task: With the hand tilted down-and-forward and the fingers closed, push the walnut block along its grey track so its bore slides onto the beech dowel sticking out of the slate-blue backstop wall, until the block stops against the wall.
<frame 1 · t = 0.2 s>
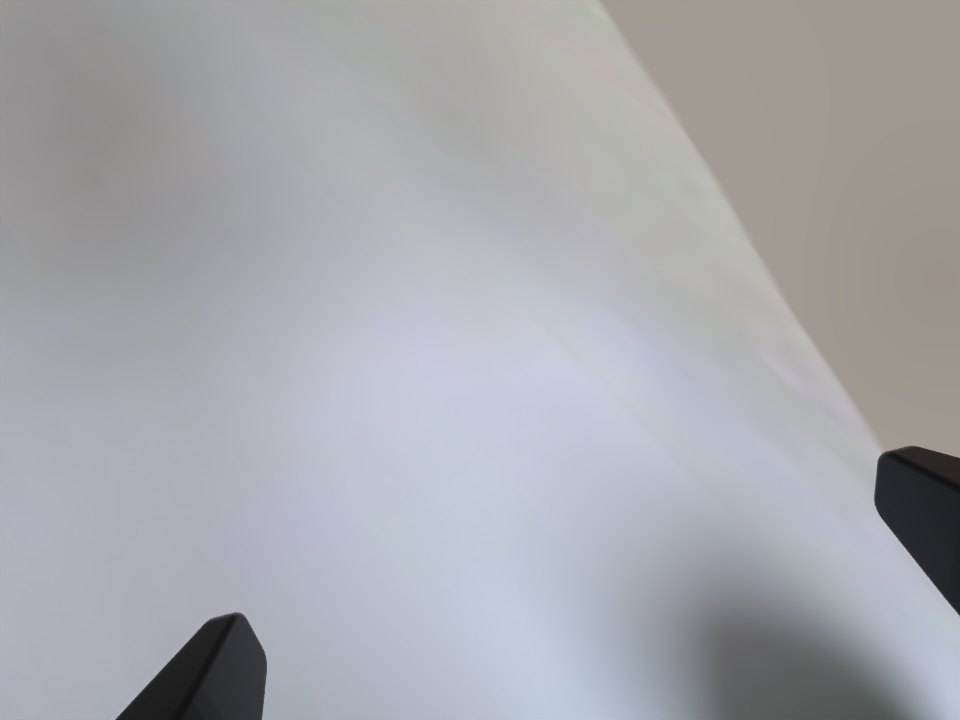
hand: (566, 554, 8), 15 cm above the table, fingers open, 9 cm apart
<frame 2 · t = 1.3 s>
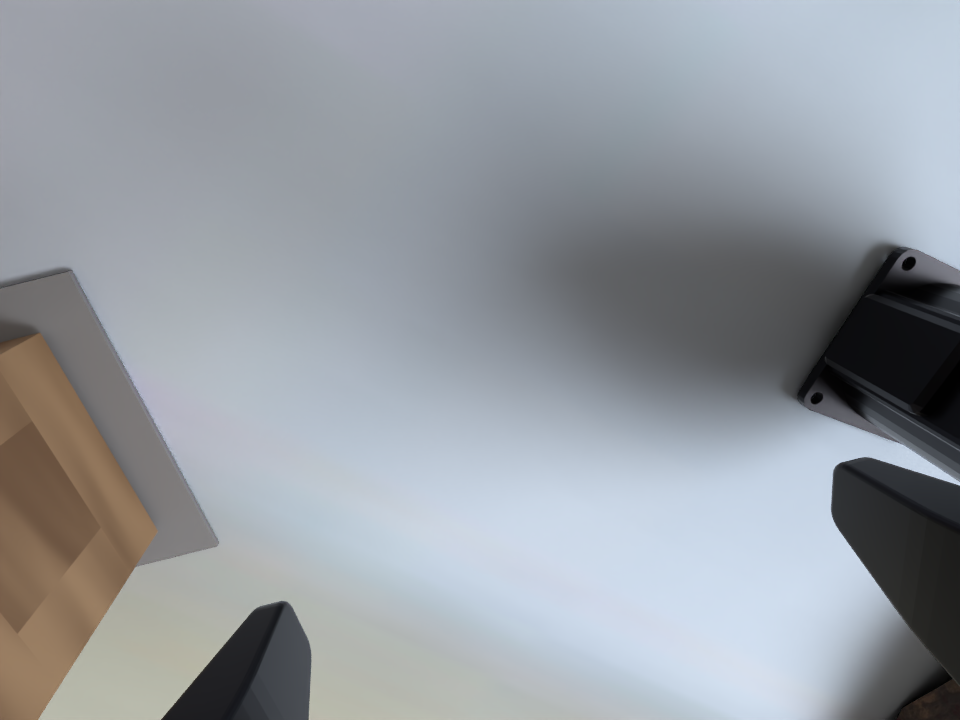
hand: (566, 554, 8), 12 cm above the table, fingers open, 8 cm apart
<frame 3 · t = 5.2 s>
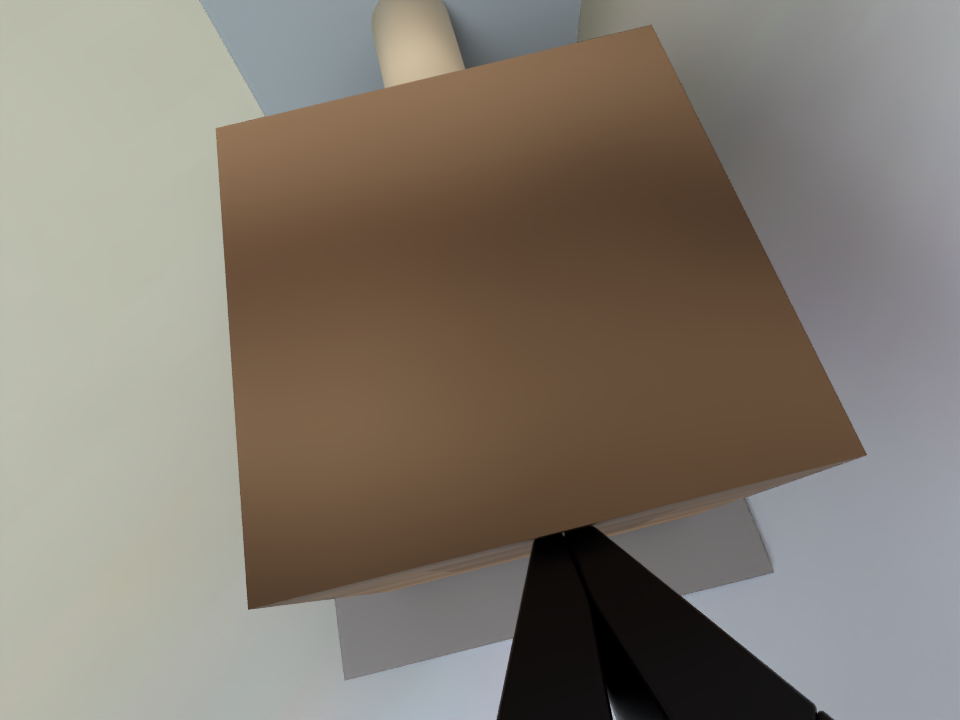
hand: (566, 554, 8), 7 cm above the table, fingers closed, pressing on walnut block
backstop: (506, 419, 16), on the table
walnut block: (497, 356, 12), point 4 cm above the table, slide at 0.3 cm, touching gripper
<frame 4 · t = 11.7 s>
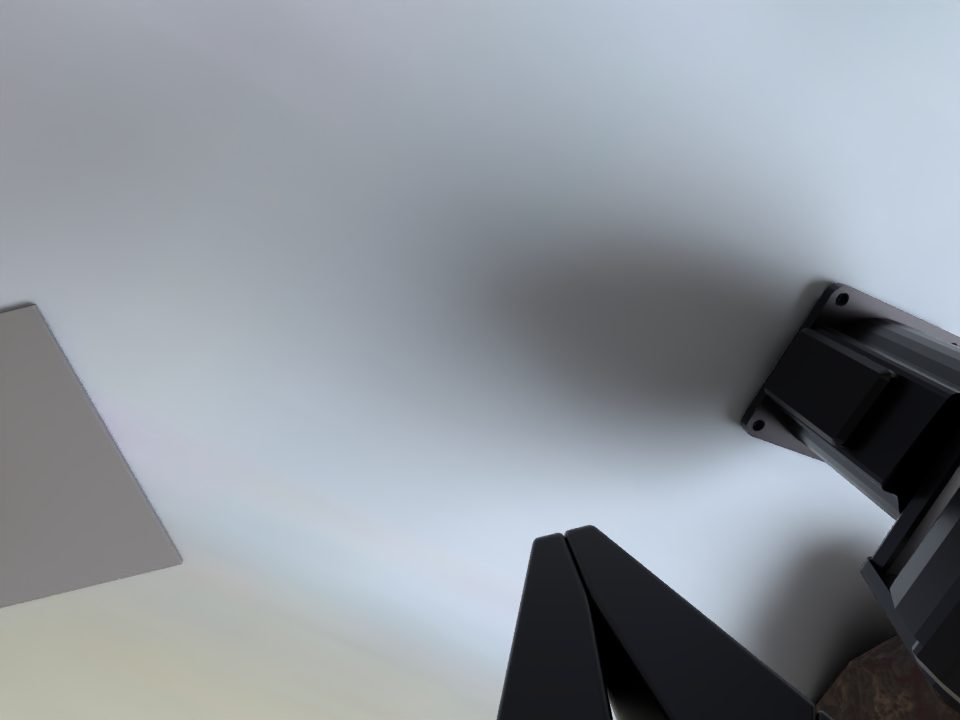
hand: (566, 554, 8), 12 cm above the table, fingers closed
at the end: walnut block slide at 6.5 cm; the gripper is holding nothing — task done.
